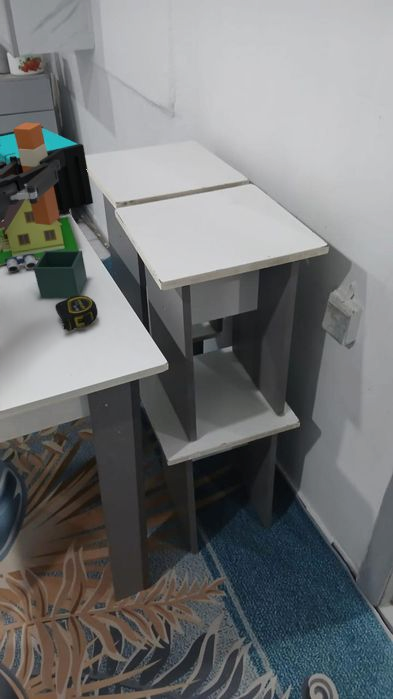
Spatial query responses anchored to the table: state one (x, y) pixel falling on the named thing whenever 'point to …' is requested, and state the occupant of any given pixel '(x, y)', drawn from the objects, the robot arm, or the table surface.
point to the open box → (60, 274)
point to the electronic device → (71, 177)
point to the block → (30, 155)
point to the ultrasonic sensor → (14, 261)
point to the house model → (32, 234)
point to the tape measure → (76, 312)
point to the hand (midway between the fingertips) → (52, 156)
